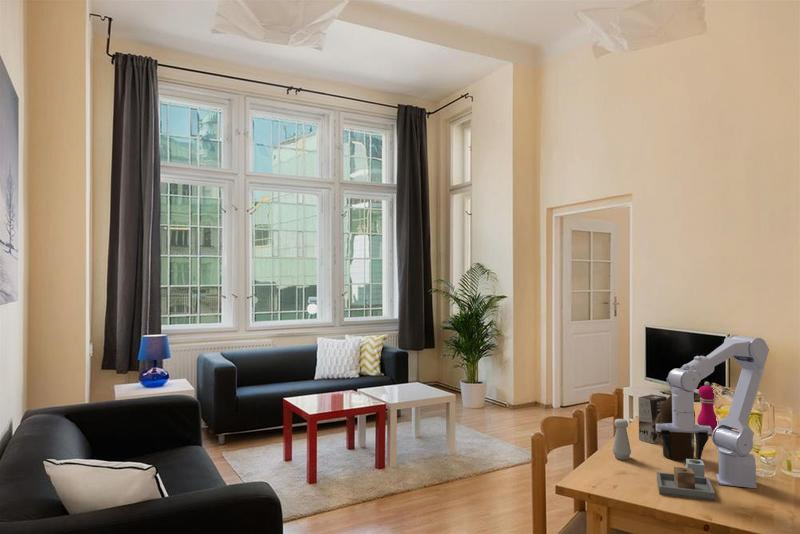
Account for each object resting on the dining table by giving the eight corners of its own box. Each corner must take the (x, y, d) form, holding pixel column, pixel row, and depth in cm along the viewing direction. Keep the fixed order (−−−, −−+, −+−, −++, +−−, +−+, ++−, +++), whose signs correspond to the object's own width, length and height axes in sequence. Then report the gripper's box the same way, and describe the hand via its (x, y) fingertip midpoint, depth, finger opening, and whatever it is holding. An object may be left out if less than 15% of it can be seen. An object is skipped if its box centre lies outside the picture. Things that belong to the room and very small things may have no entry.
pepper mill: (694, 430, 220) (693, 379, 220) (713, 430, 219) (713, 379, 219) (701, 435, 213) (700, 383, 213) (721, 436, 212) (721, 383, 212)
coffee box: (654, 444, 204) (653, 400, 204) (638, 439, 209) (637, 396, 210) (668, 439, 209) (667, 396, 209) (652, 435, 214) (651, 393, 215)
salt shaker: (632, 461, 187) (631, 422, 187) (614, 460, 188) (613, 421, 188) (628, 455, 192) (628, 417, 192) (611, 454, 194) (610, 417, 194)
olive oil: (663, 460, 187) (661, 385, 187) (659, 450, 197) (658, 379, 197) (698, 463, 183) (697, 387, 183) (693, 453, 193) (691, 381, 193)
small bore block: (690, 485, 164) (690, 467, 164) (694, 491, 160) (694, 473, 160) (674, 483, 165) (673, 466, 165) (677, 489, 161) (677, 472, 161)
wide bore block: (702, 476, 172) (702, 460, 172) (704, 481, 168) (704, 465, 168) (686, 474, 174) (686, 458, 174) (687, 479, 170) (687, 463, 170)
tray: (708, 485, 165) (708, 477, 165) (715, 500, 154) (714, 492, 154) (656, 479, 171) (656, 471, 171) (659, 494, 159) (659, 486, 160)
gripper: (706, 408, 165) (707, 454, 165) (653, 406, 168) (654, 451, 168) (713, 414, 158) (714, 462, 158) (658, 412, 161) (659, 459, 161)
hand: (683, 457), depth 163 cm, fingers open, 7 cm apart
